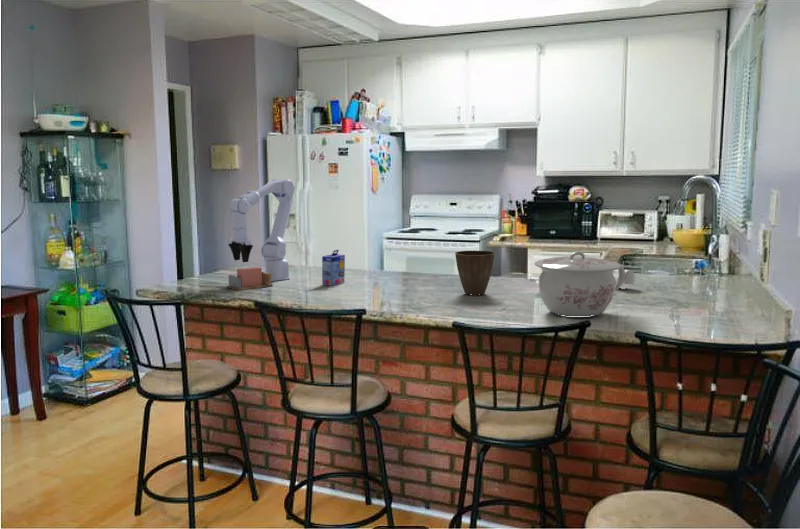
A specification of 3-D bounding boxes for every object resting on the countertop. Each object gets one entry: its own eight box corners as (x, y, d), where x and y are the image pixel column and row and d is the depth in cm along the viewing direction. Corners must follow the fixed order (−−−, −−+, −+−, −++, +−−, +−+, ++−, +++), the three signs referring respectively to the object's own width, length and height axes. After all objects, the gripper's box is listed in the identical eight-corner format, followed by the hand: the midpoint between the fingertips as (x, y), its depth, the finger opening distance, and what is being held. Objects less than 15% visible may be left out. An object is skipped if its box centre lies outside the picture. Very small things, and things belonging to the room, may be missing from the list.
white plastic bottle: (598, 282, 272) (598, 263, 270) (635, 289, 256) (636, 269, 255) (584, 284, 268) (585, 265, 266) (621, 291, 252) (622, 271, 250)
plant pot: (447, 294, 246) (447, 253, 244) (467, 288, 258) (468, 249, 256) (481, 299, 237) (482, 256, 235) (501, 293, 249) (501, 252, 247)
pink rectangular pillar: (257, 283, 270) (257, 266, 269) (262, 284, 267) (261, 268, 266) (237, 285, 265) (236, 269, 264) (241, 287, 261) (241, 270, 260)
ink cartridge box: (332, 286, 266) (332, 251, 264) (321, 285, 268) (320, 250, 266) (345, 282, 274) (345, 248, 272) (334, 281, 277) (334, 248, 275)
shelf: (261, 282, 275) (261, 271, 274) (272, 286, 267) (272, 274, 266) (227, 287, 265) (226, 275, 264) (237, 290, 257) (237, 278, 257)
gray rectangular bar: (231, 285, 266) (231, 274, 265) (241, 288, 259) (240, 277, 258) (228, 285, 265) (228, 275, 264) (238, 288, 258) (237, 277, 257)
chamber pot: (524, 319, 206) (526, 254, 203) (542, 302, 231) (543, 245, 228) (616, 327, 195) (619, 259, 192) (624, 309, 220) (627, 248, 217)
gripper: (223, 227, 268) (224, 260, 270) (238, 230, 257) (240, 263, 259) (238, 226, 272) (240, 258, 274) (254, 228, 261) (256, 262, 263)
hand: (241, 261), depth 267 cm, fingers open, 7 cm apart
